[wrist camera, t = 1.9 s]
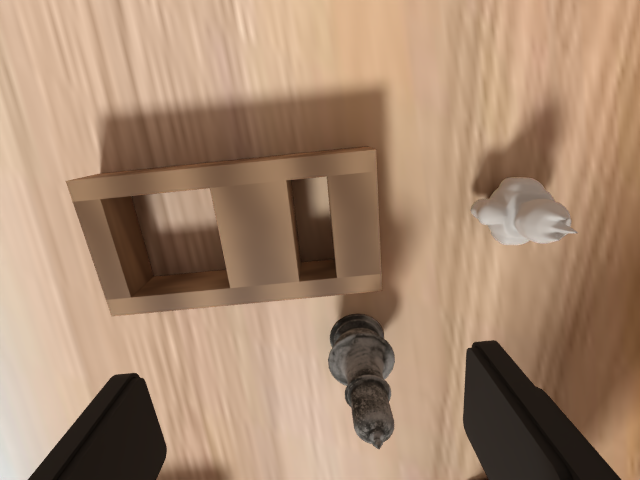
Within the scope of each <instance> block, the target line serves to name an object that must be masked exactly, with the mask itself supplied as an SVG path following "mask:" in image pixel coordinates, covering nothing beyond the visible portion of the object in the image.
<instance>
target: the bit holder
mask: <svg viewBox="0 0 640 480" xmlns="http://www.w3.org/2000/svg"><path fill="white" fill-rule="evenodd" d="M325 176H327V184H328V195H329V206H330V217H331V228H332V239H333V250H334V259H330V260H320V261H310V262H301V256H300V248H299V240H298V232H297V224H296V216H295V208H294V200H293V192H292V184H291V180H295V179H305V178H315V177H325ZM66 183H67V186H68V189H69V192H70V195H71V198H72V201H73V204H74V207H75V210H76V213H77V216H78V218H79V221H80V224H81V227H82V230H83V233H84V236H85V239H86V242H87V245H88V248H89V251H90V254H91V257H92V260H93V263H94V266H95V268H96V271H97V274H98V277H99V280H100V283H101V286H102V289H103V292H104V295H105V298H106V301H107V304H108V307H109V310H110V313H111V316H121V315H131V314H142V313H153V312H163V311H174V310H185V309H195V308H206V307H217V306H227V305H238V304H248V303H259V302H270V301H280V300H291V299H302V298H312V297H323V296H333V295H344V294H355V293H365V292H376V291H382V275H381V252H380V228H379V205H378V182H377V158H376V149H373V148H371V147H368V146H367V147H357V148H347V149H337V150H327V151H318V152H308V153H298V154H288V155H278V156H269V157H259V158H249V159H239V160H229V161H220V162H210V163H200V164H190V165H180V166H171V167H161V168H151V169H141V170H131V171H121V172H112V173H102V174H96V175H92V176H87V177H82V178H78V179H73V180H69V181H66ZM206 188H210V191H211V196H212V201H213V206H214V211H215V216H216V221H217V225H218V230H219V235H220V240H221V245H222V250H223V255H224V260H225V265H226V270H216V271H205V272H195V273H185V274H174V275H164V276H154V275H153V272H152V268H151V265H150V261H149V258H148V254H147V251H146V247H145V243H144V240H143V236H142V233H141V229H140V226H139V222H138V219H137V215H136V211H135V208H134V204H133V201H132V197H131V196H136V195H146V194H156V193H166V192H176V191H186V190H196V189H206Z"/></svg>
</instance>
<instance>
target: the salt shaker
mask: <svg viewBox="0 0 640 480" xmlns="http://www.w3.org/2000/svg"><path fill="white" fill-rule="evenodd" d="M330 343H331V346H332V350H331V351H330V354H329V359H328V364H329V369H330V371H331V374H332V375H333V376H334V378H335V379H336V380H337V381H339V382H340V383H342V384H343V385H346V386H347V387H346V390H345V399H346V401H347V403H348V404H349V406H350V407H351V408H352V415H353V423H354V429H355V431H356V433H357V435H358V436H359V437H360V438H361V439H362V440H363V441H365V442H367V443H370V444H373V446H375V447H376V448H377V449H380V447H381V446H382V444H383V442H385V441H386V440H388V439H389V438H390V436H391V435H392V433H393V431H394V419H393V415H392V412H391V408H390V404H389V400H390V397H391V389H390V386H389V384H388V383H387V382H386V381H385V380H384V379H386V378H387V377H388V376H389V374H390V373H391V371H392V369H393V366H394V363H395V357H394V352H393V350H392V347H391V346H390V344H389V343H388V342H387V341H386V340H385V339H384V333H383V330H382V327H381V325H380V324H379V323H378V322H377V321H376V320H375V319H373V318H372V317H370V316H367V315H362V314H353V315H349V316H346V317H344V318H342V319H341V320H339V321H338V322H337V323H336V324H335V325H334V327H333V328H332V330H331V334H330Z"/></svg>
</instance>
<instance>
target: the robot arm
mask: <svg viewBox="0 0 640 480" xmlns="http://www.w3.org/2000/svg"><path fill="white" fill-rule="evenodd" d="M463 424H464V429H465V432H466V434H467V437H468V439H469V441H470V443H471V445H472V447H473V449H474V451H475V453H476V455H477V457H478V459H479V461H480V463H481V465H482V467H483V469H484V471H485V473H486V475H487V477H488V479H489V480H621V479H620V478H619V476H618V475H617V474H616V473H615V472H614V471H613V470H612V468H611V467H610V466H609V465H608V464H607V463H606V461H605V460H604V459H603V458H602V457H601V456H600V455H599V453H598V452H597V451H596V450H595V449H594V448H593V447H592V445H591V444H590V443H589V442H588V441H587V440H586V438H585V437H584V436H583V435H582V434H581V433H580V432H579V430H578V429H577V428H576V427H575V426H574V425H573V423H572V422H571V421H570V420H569V419H568V418H567V417H566V415H565V414H564V413H563V412H562V411H561V410H560V409H559V407H558V406H557V405H556V404H555V403H554V402H553V400H552V399H551V398H550V397H549V396H548V395H547V394H546V393H545V392H544V391H543V390H542V389H540V388H538V387H535V386H534V384H533V383H532V382H531V381H530V380H529V379H528V377H527V376H526V375H525V374H524V373H523V371H522V370H521V369H520V368H519V367H518V366H517V364H516V363H515V362H514V361H513V360H512V358H511V357H510V356H509V355H508V354H507V353H506V351H505V350H504V349H503V348H502V347H501V346H500V344H499V343H498V342H497V341H494V340H493V341H482V342H474V343H473V345H472V348H468V349H467V353H466V373H465V393H464V413H463ZM166 452H167V447H166V443H165V440H164V437H163V434H162V431H161V428H160V425H159V422H158V419H157V416H156V413H155V410H154V407H153V404H152V400H151V397H150V394H149V391H148V388H147V385H146V382H145V380H144V379H143V378H140V377H139V375H138V374H137V373H129V374H118V375H114V376H113V377H111V378H110V380H109V381H108V382H107V383H106V384H105V386H104V387H103V388H102V389H101V391H100V392H99V393H98V394H97V395H96V397H95V398H94V399H93V400H92V402H91V403H90V404H89V405H88V407H87V408H86V409H85V410H84V411H83V413H82V414H81V415H80V416H79V418H78V419H77V420H76V421H75V422H74V424H73V425H72V426H71V427H70V429H69V430H68V431H67V432H66V434H65V435H64V436H63V437H62V438H61V440H60V441H59V442H58V443H57V445H56V446H55V447H54V448H53V449H52V451H51V452H50V453H49V454H48V456H47V457H46V458H45V459H44V461H43V462H42V463H41V464H40V465H39V467H38V468H37V469H36V470H35V472H34V473H33V474H32V475H31V476H30V478H29V479H28V480H156V479H157V477H158V474H159V472H160V470H161V468H162V465H163V463H164V461H165V458H166Z"/></svg>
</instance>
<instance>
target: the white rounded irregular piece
mask: <svg viewBox="0 0 640 480" xmlns="http://www.w3.org/2000/svg"><path fill="white" fill-rule="evenodd" d="M471 213H472V214H473V215H474V216H475V217H476V218H477V219H478V220H479V221H480V223H481V224H483V225H488V227H489V229H490V230H491V234H492V236H493V238H494V239H495V240H497V241H498V242H499V243H501V244H503V245H521V244H525V243H527V242H528V241H530V240H531V241H533V242H536V243H543V244H544V243H551V242H554V241H559V240H560V239H561V238H562V237H564V236H565V235H567V233H578V232H576V231H575V230H574V229H572V228H571V227H570V226H571V218H570V214H569V212H568V210H567V209H566V208H565V207H564V206H563V205H562V204H560V203H558V202H555V200H554V198H553V196H552V195H551V194H550V193H549V192H547V191H546V190H545V189H544V187H543V185H542V184H541V183H540V182H538V181H537V180H535V179H533V178H526V177H509V178H506V179H504V180H503V181H502V182H501V183H500V185H499V187H498V188H497V189H496V190H495V191H494V192H493V193H492V195H491V197H490V198H489V199H480V200H478V201H476V202H475V203H474V204H473V205H472V207H471Z"/></svg>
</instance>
